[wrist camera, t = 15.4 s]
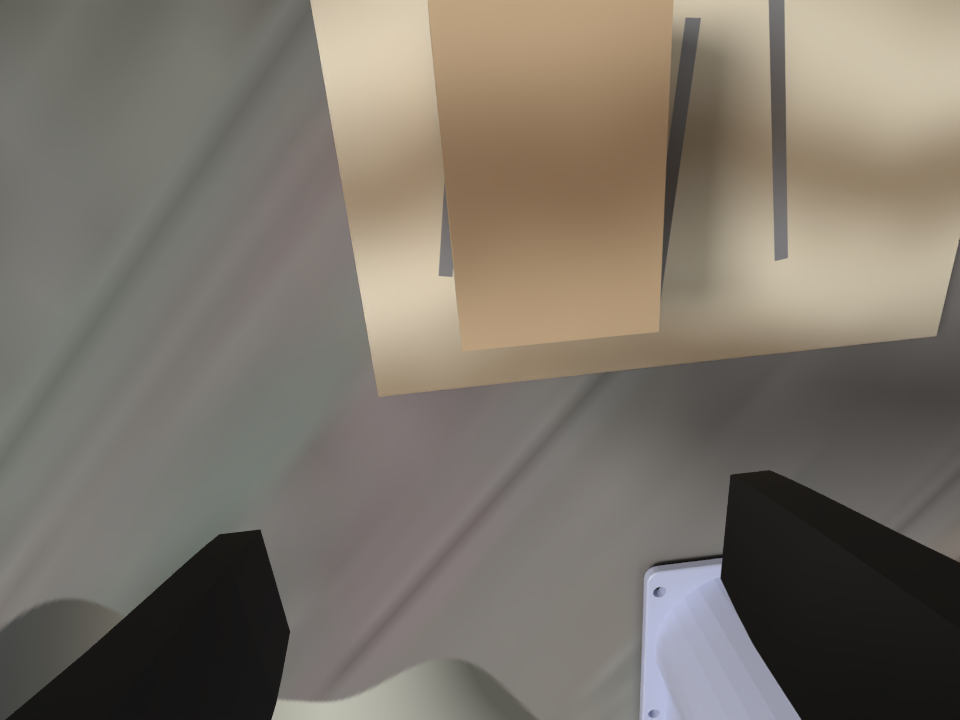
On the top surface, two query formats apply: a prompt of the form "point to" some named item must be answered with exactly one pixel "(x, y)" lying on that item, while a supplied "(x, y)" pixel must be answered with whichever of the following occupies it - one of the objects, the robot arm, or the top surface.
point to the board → (685, 186)
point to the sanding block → (553, 164)
